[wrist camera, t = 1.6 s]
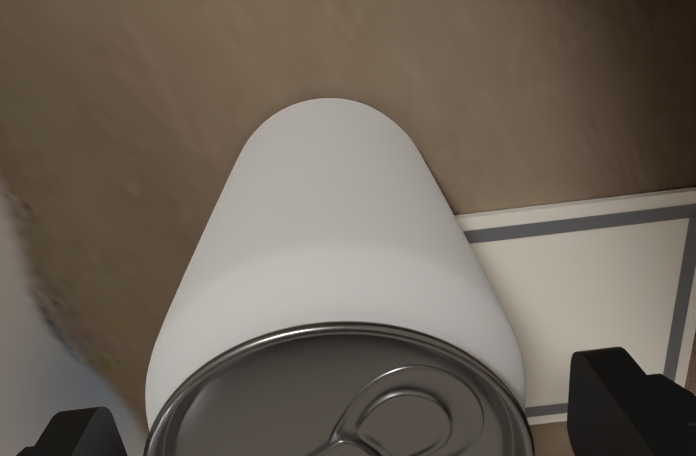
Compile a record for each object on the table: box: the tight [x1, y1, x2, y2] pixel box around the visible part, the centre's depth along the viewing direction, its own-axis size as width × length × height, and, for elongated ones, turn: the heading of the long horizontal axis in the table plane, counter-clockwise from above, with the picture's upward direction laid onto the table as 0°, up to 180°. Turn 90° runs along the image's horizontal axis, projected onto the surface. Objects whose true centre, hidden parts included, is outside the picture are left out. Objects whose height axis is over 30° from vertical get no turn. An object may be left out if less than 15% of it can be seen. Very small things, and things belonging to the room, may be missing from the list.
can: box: [143, 98, 535, 456], centre depth 13 cm, size 6×6×12 cm
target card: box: [455, 187, 696, 425], centre depth 21 cm, size 10×10×1 cm
